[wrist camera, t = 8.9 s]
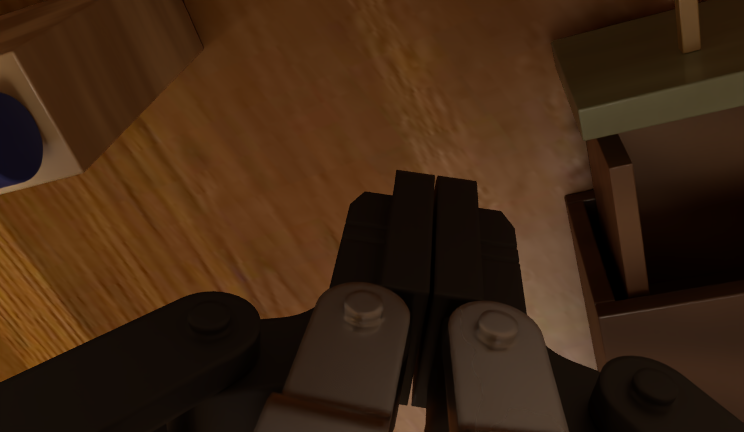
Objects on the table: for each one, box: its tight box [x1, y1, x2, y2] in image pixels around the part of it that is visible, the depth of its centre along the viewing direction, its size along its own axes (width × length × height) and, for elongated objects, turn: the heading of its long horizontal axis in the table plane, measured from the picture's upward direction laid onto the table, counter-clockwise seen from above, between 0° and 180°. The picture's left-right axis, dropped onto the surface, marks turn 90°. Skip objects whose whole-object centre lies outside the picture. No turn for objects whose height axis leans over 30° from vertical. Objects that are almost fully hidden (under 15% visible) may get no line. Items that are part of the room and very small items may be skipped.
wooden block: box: [0, 0, 203, 194], centre depth 26 cm, size 10×4×12 cm, turn 107°
